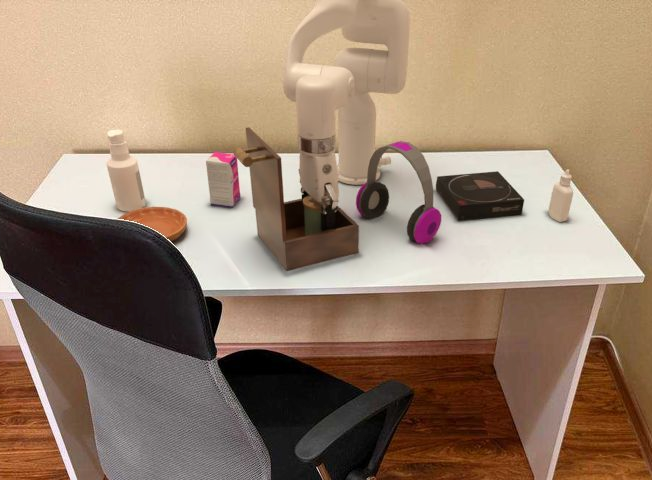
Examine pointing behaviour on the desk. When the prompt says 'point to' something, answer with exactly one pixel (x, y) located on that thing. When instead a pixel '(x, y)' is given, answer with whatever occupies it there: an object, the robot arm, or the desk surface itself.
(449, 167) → the desk surface
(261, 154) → the lid
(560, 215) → the eye dropper bottle
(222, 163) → the supplement box
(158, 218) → the saucer
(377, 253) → the desk surface
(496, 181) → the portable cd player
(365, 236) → the desk surface
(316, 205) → the canister
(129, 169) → the spray bottle
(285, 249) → the chest
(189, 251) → the desk surface
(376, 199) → the headphones
